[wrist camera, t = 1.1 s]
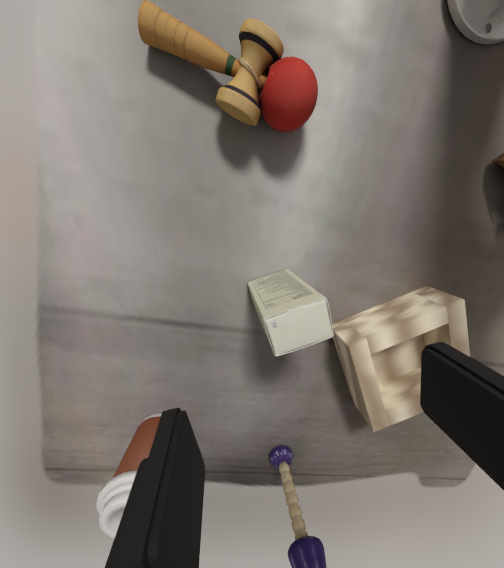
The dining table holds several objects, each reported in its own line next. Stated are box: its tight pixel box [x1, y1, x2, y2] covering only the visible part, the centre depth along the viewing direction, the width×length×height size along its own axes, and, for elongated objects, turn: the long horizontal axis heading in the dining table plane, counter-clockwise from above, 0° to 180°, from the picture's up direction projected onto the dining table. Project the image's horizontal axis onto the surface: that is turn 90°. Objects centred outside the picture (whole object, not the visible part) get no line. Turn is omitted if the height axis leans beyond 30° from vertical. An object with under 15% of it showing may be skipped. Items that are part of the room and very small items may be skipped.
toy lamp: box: [269, 446, 326, 568], centre depth 34 cm, size 5×5×17 cm
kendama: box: [138, 0, 318, 132], centre depth 24 cm, size 8×6×18 cm
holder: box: [332, 286, 470, 432], centre depth 35 cm, size 16×16×6 cm
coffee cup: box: [96, 413, 162, 539], centre depth 32 cm, size 9×9×12 cm
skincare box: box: [247, 269, 334, 356], centre depth 27 cm, size 6×4×12 cm
